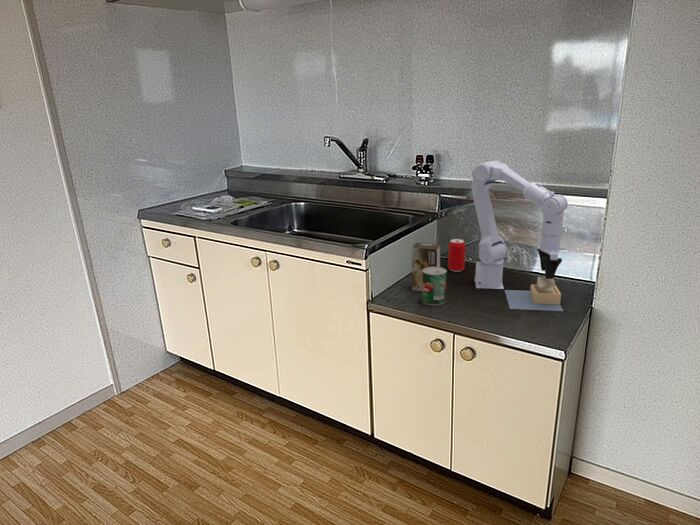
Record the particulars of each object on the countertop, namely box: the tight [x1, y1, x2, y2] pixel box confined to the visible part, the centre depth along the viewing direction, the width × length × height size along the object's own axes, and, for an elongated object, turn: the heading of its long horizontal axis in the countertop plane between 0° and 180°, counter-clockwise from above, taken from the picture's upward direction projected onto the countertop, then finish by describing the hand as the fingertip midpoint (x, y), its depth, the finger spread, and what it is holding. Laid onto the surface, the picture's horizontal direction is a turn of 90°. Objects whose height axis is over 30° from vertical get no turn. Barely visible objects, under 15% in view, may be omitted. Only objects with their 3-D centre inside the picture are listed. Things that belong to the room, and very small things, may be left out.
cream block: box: [536, 276, 556, 294], centre depth 160 cm, size 4×4×4 cm
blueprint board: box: [504, 284, 564, 312], centre depth 161 cm, size 16×16×4 cm
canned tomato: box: [421, 266, 448, 307], centre depth 163 cm, size 8×8×11 cm
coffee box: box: [411, 242, 441, 292], centre depth 173 cm, size 9×6×16 cm
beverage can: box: [447, 238, 466, 273], centre depth 191 cm, size 6×6×12 cm
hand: (547, 274), depth 158 cm, fingers open, 7 cm apart
